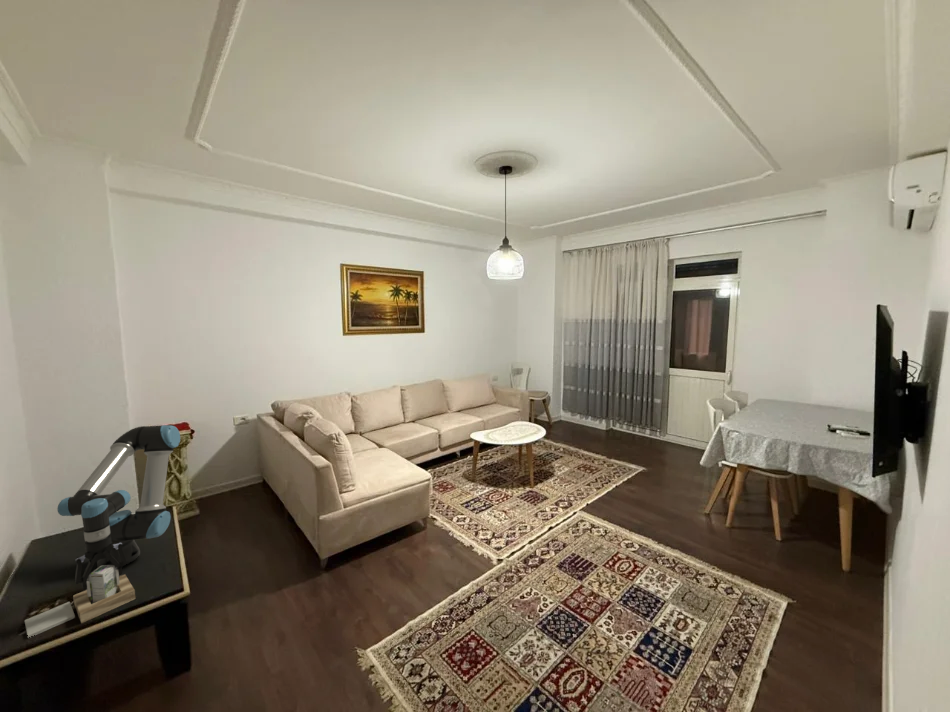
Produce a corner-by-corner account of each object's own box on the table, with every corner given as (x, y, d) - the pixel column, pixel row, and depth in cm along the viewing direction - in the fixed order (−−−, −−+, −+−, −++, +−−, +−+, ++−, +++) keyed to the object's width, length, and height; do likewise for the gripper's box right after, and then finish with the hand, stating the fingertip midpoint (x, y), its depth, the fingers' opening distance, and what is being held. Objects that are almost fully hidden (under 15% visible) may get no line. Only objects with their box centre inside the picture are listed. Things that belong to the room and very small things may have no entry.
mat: (24, 622, 146) (24, 620, 146) (69, 603, 156) (69, 601, 156) (28, 638, 139) (27, 636, 139) (74, 617, 149) (74, 615, 149)
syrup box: (103, 596, 160) (99, 565, 158) (118, 596, 160) (115, 564, 159) (91, 607, 154) (87, 574, 152) (106, 606, 155) (102, 573, 153)
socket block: (74, 604, 156) (73, 595, 155) (125, 582, 168) (125, 574, 168) (81, 623, 146) (80, 614, 146) (135, 598, 159) (134, 590, 158)
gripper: (62, 553, 144) (68, 608, 146) (133, 529, 160) (138, 578, 163) (59, 546, 148) (65, 599, 151) (129, 523, 165) (134, 571, 167)
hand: (103, 588), depth 157 cm, fingers closed on syrup box, 8 cm apart
